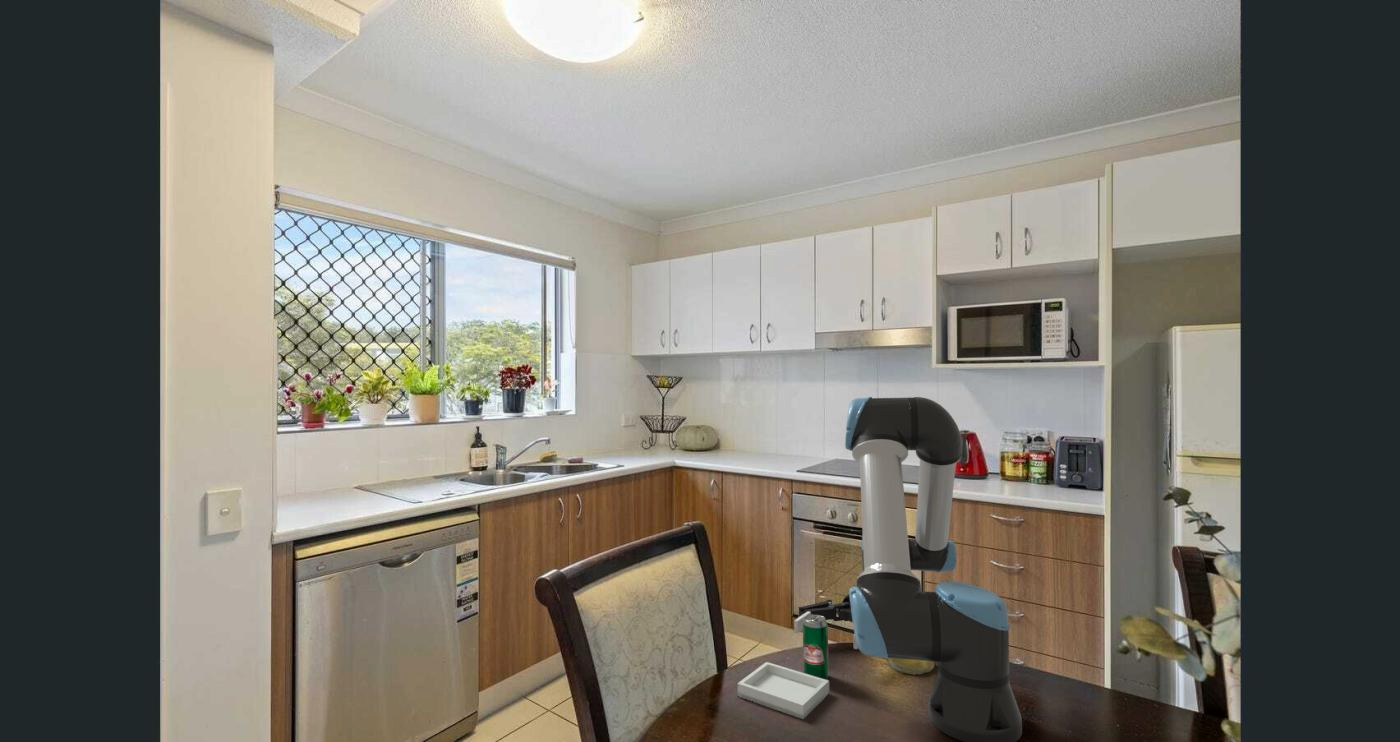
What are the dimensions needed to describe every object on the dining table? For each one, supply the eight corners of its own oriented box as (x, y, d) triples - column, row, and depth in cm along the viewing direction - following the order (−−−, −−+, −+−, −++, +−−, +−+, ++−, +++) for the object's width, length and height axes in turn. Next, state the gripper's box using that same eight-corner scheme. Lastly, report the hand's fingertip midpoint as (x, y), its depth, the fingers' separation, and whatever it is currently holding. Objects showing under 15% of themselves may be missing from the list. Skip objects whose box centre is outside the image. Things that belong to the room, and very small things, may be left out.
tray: (829, 693, 119) (829, 680, 119) (803, 719, 110) (802, 705, 110) (766, 673, 127) (766, 661, 127) (737, 696, 118) (737, 683, 119)
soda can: (800, 680, 125) (799, 620, 125) (807, 669, 129) (806, 612, 129) (824, 685, 122) (823, 625, 122) (831, 674, 127) (830, 616, 127)
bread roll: (880, 662, 132) (880, 644, 132) (914, 655, 135) (914, 637, 135) (906, 680, 124) (906, 660, 124) (941, 672, 128) (941, 652, 128)
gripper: (916, 632, 140) (882, 668, 123) (815, 609, 154) (773, 638, 138) (915, 599, 140) (881, 630, 123) (815, 579, 155) (772, 604, 138)
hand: (824, 634), depth 130 cm, fingers open, 13 cm apart
